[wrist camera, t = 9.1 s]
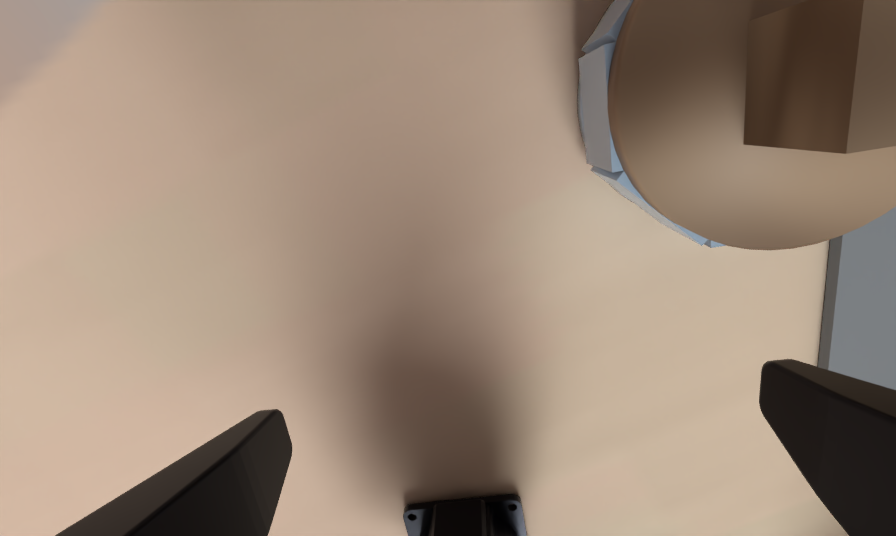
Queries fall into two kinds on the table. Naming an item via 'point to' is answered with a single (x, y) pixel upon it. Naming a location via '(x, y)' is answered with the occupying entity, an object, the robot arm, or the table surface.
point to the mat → (862, 304)
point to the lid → (758, 115)
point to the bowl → (596, 114)
